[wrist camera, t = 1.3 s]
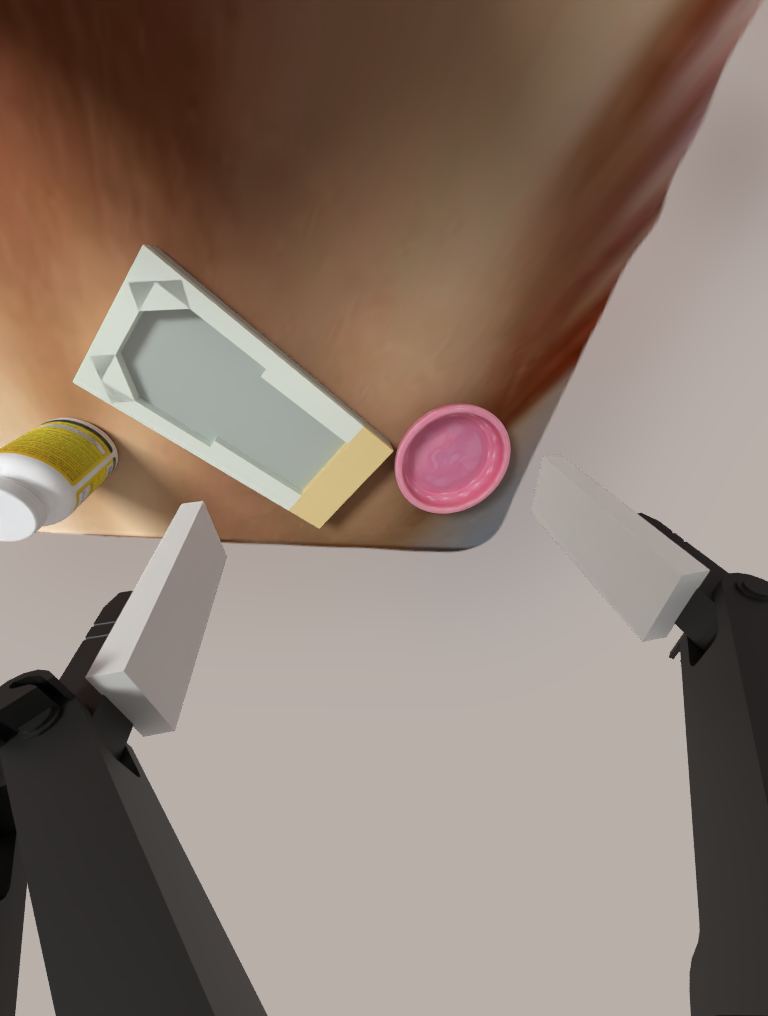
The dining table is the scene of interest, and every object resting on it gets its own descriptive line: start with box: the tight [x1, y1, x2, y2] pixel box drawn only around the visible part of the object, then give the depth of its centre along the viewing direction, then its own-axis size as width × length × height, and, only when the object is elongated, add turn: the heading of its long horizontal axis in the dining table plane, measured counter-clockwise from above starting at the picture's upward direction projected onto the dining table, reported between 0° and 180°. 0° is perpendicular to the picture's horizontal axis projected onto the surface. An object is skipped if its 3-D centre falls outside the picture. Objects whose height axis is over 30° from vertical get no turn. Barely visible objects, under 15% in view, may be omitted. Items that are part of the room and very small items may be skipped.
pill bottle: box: [0, 418, 118, 541], centre depth 29 cm, size 6×6×11 cm
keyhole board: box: [73, 245, 393, 528], centre depth 33 cm, size 24×12×2 cm, turn 47°
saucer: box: [395, 403, 511, 514], centre depth 38 cm, size 12×12×3 cm
